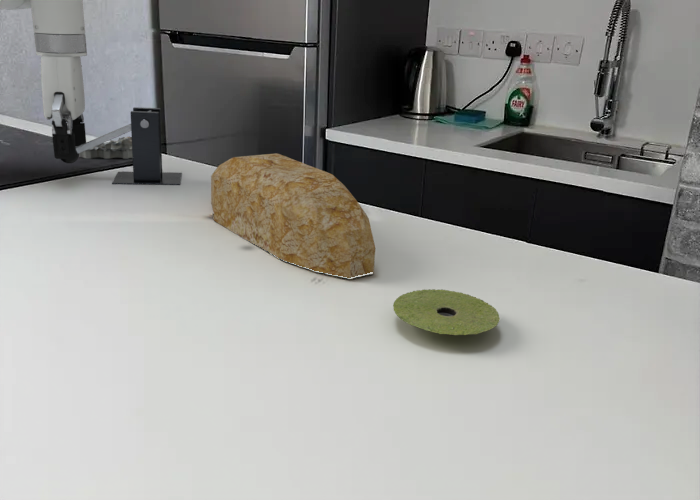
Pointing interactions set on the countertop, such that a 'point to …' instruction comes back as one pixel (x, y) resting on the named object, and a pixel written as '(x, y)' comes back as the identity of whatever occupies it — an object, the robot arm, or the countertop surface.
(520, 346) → the countertop surface
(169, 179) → the bracket
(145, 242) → the countertop surface
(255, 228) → the bread
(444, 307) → the green disc with hole
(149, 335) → the countertop surface
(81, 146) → the lever
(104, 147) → the egg carton
